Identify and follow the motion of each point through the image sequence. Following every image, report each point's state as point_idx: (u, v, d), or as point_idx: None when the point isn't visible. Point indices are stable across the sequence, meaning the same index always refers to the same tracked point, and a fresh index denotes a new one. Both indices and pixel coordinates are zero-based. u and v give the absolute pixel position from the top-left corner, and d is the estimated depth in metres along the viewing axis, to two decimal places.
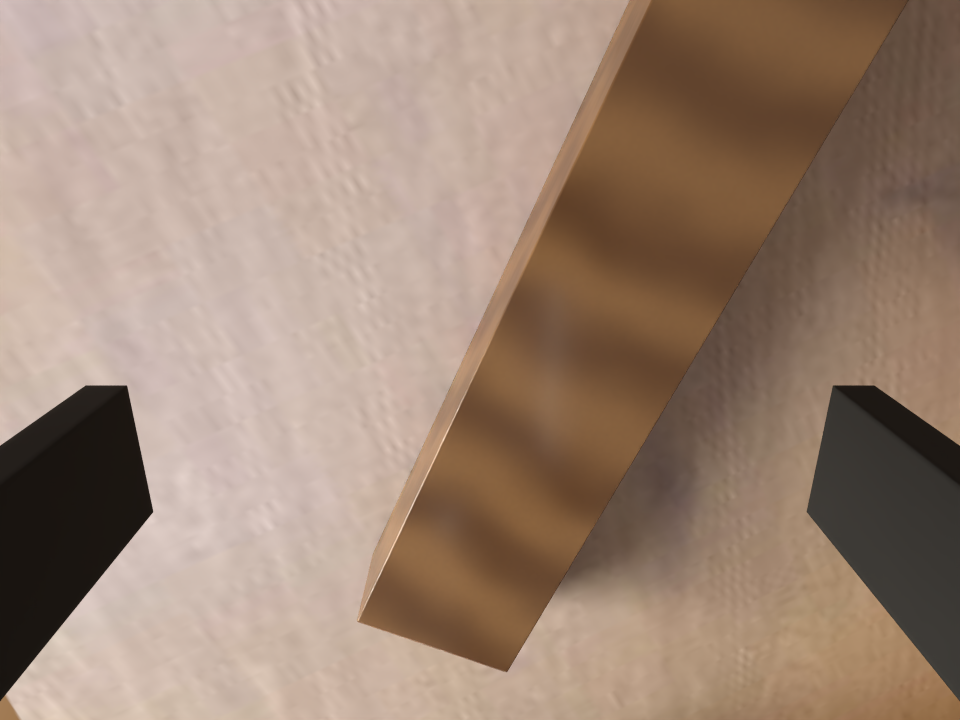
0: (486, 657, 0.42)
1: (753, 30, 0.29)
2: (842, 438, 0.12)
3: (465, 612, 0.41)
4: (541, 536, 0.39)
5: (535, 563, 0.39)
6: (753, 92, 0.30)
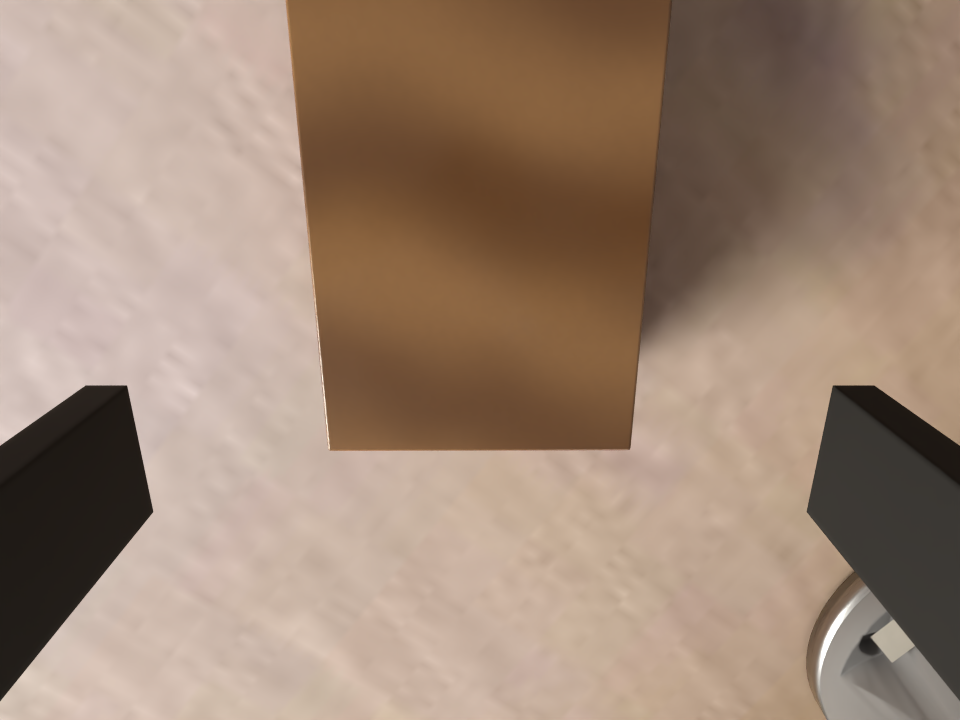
0: (580, 434, 0.22)
1: None
2: (842, 438, 0.12)
3: (503, 357, 0.21)
4: (572, 128, 0.19)
5: (584, 195, 0.19)
6: None
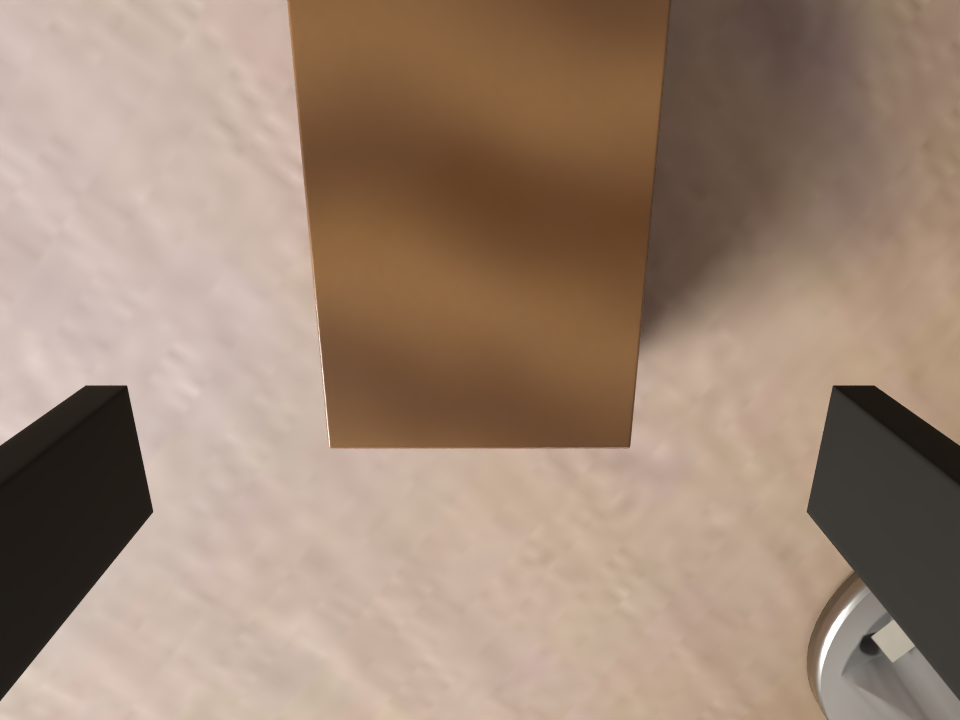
0: (580, 432, 0.22)
1: None
2: (842, 438, 0.12)
3: (503, 355, 0.21)
4: (572, 126, 0.19)
5: (584, 193, 0.19)
6: None
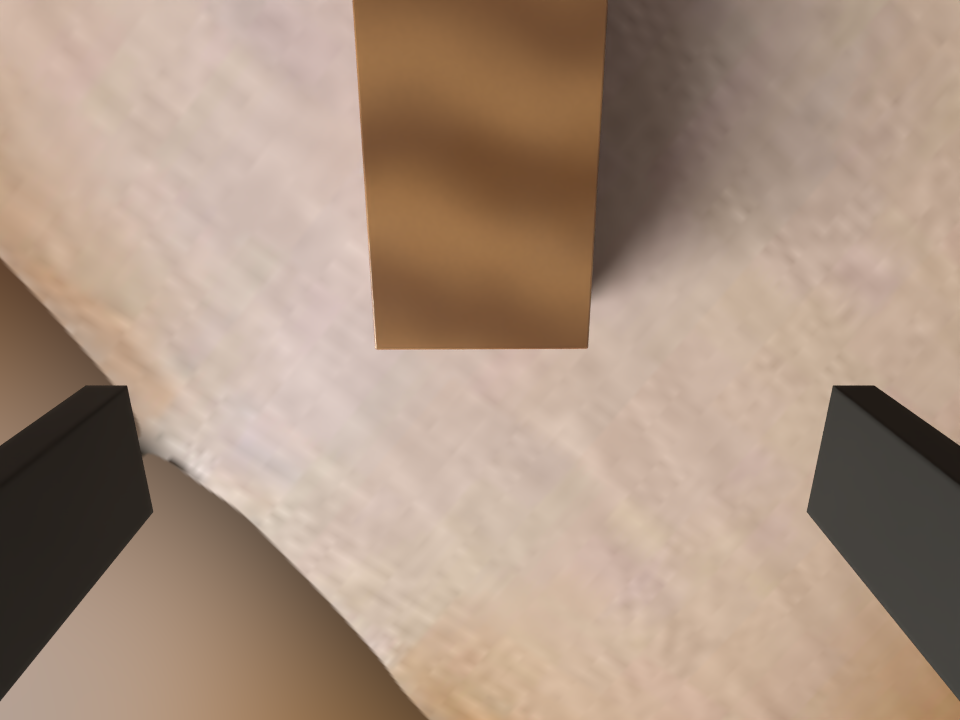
0: (552, 336, 0.32)
1: None
2: (842, 438, 0.12)
3: (498, 280, 0.31)
4: (542, 121, 0.28)
5: (551, 166, 0.29)
6: None
